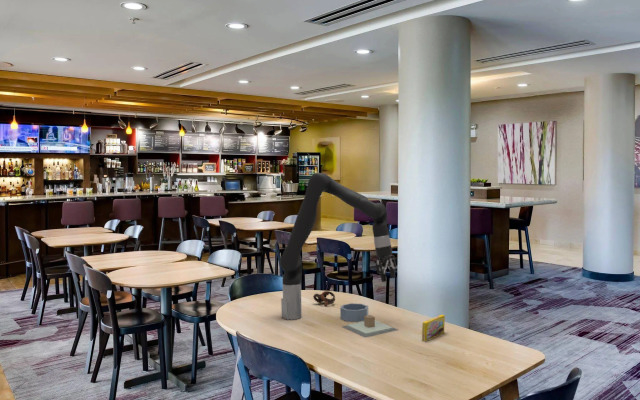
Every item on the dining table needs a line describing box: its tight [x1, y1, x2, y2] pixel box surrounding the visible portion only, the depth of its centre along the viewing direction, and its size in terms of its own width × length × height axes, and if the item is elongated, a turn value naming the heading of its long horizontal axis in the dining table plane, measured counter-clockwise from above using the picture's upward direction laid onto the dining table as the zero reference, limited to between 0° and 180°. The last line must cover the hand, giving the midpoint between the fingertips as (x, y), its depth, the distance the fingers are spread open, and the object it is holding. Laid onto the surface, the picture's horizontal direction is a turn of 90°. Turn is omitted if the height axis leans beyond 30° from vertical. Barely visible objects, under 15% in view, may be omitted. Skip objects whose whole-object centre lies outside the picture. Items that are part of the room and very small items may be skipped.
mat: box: [341, 325, 399, 339], centre depth 243 cm, size 19×19×1 cm
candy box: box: [421, 313, 446, 342], centre depth 231 cm, size 16×2×8 cm, turn 137°
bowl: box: [339, 302, 369, 323], centre depth 260 cm, size 13×13×6 cm
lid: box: [346, 314, 394, 335], centre depth 243 cm, size 15×15×6 cm
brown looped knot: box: [313, 290, 336, 308], centre depth 289 cm, size 12×10×8 cm
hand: (388, 279), depth 246 cm, fingers open, 8 cm apart
